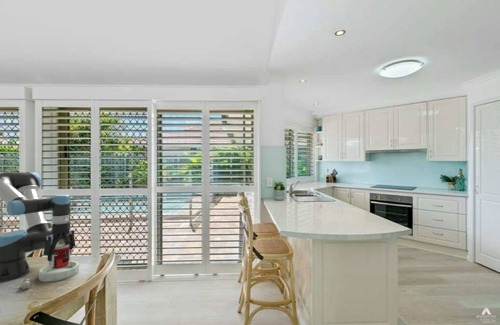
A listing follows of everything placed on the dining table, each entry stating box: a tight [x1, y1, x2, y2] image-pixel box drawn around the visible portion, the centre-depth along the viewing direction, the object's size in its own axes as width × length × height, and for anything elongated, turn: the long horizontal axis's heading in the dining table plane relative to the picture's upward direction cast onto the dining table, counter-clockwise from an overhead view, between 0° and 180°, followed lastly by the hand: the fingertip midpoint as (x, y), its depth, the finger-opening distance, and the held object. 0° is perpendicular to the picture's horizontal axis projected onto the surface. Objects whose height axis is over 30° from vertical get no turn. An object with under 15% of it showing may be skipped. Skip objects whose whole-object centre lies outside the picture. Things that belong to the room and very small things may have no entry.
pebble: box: [20, 281, 32, 290], centre depth 116 cm, size 4×4×4 cm
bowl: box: [38, 260, 80, 283], centre depth 131 cm, size 17×17×4 cm
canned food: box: [51, 243, 69, 268], centre depth 131 cm, size 8×8×11 cm
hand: (59, 263), depth 131 cm, fingers closed on canned food, 8 cm apart
